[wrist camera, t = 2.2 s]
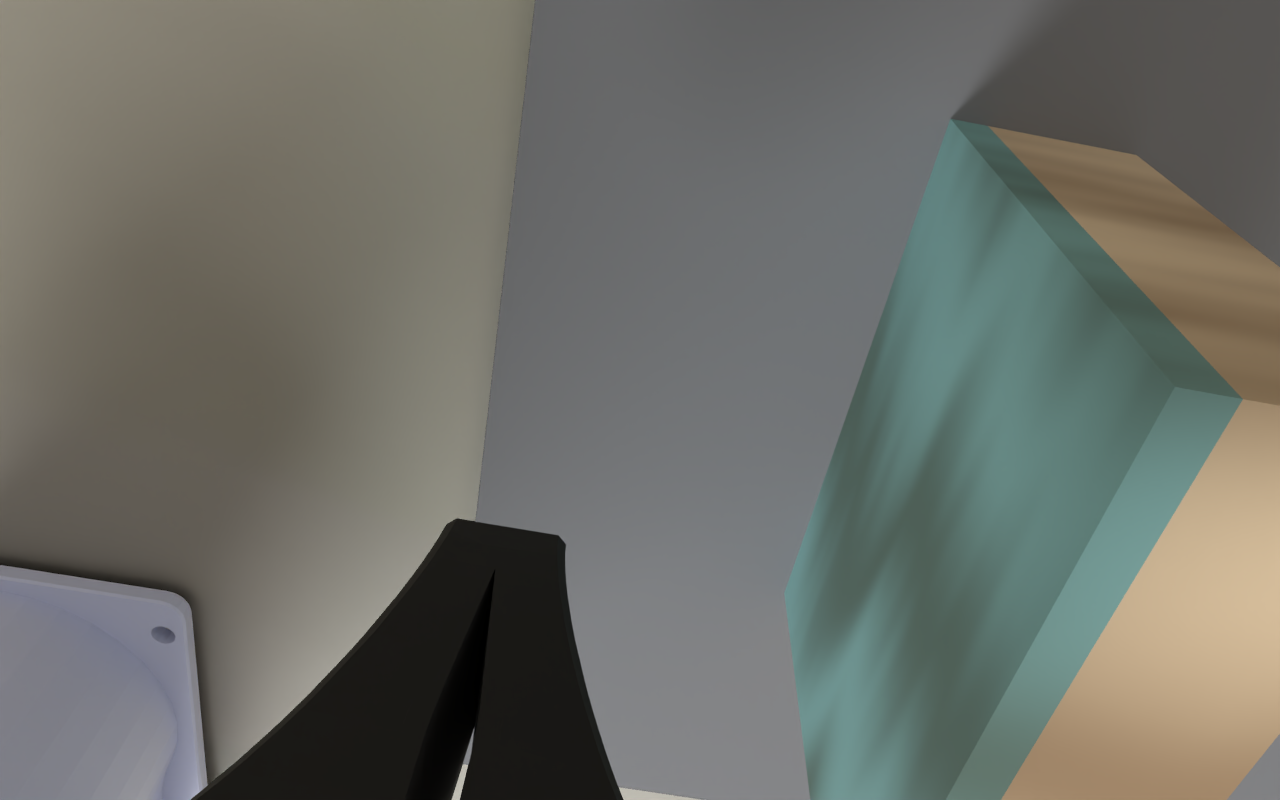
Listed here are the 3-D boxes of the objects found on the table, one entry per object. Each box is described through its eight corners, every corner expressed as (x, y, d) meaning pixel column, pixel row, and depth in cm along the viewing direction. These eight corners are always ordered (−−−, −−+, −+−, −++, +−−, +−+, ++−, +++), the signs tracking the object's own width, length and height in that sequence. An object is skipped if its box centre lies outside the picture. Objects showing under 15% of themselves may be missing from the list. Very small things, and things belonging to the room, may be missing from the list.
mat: (1222, 859, 25) (1231, 878, 25) (452, 744, 24) (447, 761, 23) (2141, -231, 12) (2195, -234, 12) (608, -594, 11) (605, -610, 11)
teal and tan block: (923, 615, 20) (1044, 1026, 13) (784, 593, 20) (835, 997, 13) (1136, 154, 15) (1510, 446, 8) (950, 118, 15) (1174, 386, 8)
